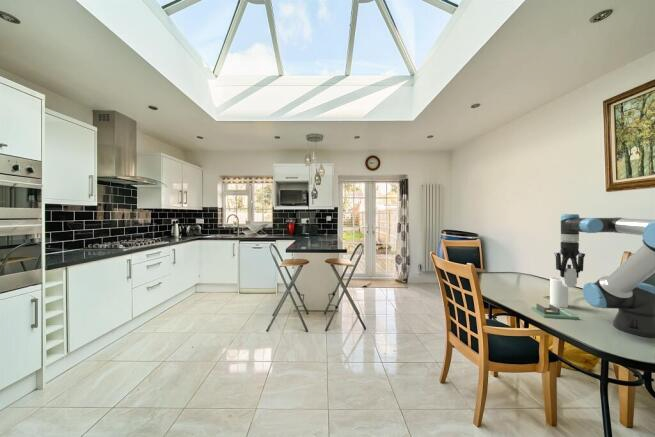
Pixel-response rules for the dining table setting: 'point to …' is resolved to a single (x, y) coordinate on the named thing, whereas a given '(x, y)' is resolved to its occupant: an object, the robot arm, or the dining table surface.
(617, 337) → the dining table surface
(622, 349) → the dining table surface
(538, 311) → the header board
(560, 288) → the cup
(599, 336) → the dining table surface
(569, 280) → the plug
